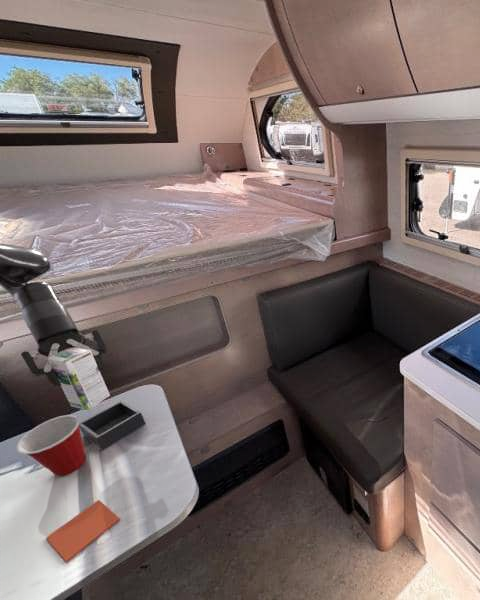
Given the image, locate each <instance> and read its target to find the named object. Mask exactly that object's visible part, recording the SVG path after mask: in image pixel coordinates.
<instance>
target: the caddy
mask: <svg viewBox="0 0 480 600" xmlns="http://www.w3.org/2000/svg"><path fill="white" fill-rule="evenodd" d="M125 415H126V416H128V418H125V419H124V420H122V421H121V422H119V423H118V424H116V425H114V426H113V427H110V428H109V429H107V430H106V431H104V432H102V433H101V434H98V433H96V432H97V431H98V430H100V429H102V428H104V427H105V426H107V425H109V424H110V423H112V422H114V421H115V420H117V419H119V418H121V417H123V416H125ZM144 426H146V421H145V419H144V416H143V414H142V412H141V411H140V410H138V409H137V408H135V407H133V406H131V405H130V404H128V403H127V402H125V401H123V400H120V401H118V402H115V403H114V404H112V405H110V406H107V408H105V409H103V410H101V411H99V412H97V413H95V414H93V415H92V416H90V417H88V418H86V419H84V420H83V421H80V422H79V429H80V432H81V433H82V436H83V437H84V438H86V439H88V441H90V442H91V443H93V445H95V446H96V447H98V448H99V449H100V450H102V451H105V450H107V449H109V447H111V446H113V445H114V444H117V443H118V442H120V441H121V440H123V439H125V438H126V437H127V436H129V435H131V434H132V433H134V432H135V431H137V430H138V429H140V428H142V427H144Z"/></svg>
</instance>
